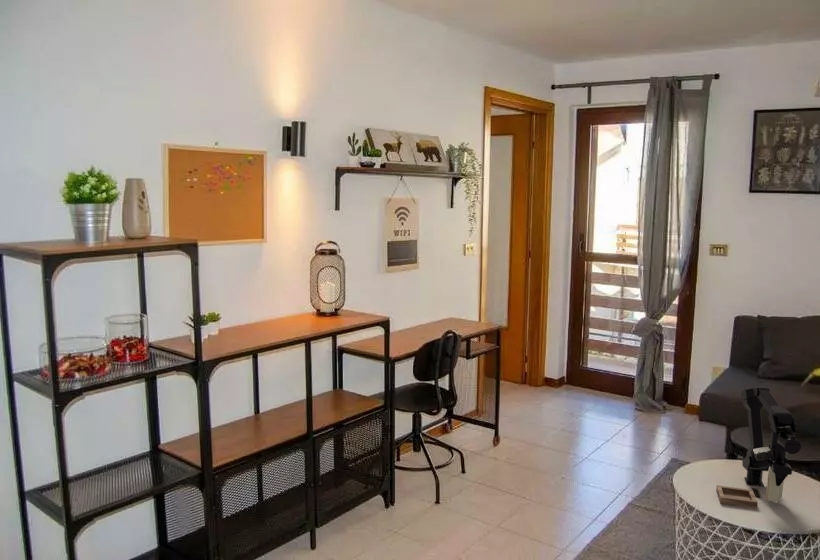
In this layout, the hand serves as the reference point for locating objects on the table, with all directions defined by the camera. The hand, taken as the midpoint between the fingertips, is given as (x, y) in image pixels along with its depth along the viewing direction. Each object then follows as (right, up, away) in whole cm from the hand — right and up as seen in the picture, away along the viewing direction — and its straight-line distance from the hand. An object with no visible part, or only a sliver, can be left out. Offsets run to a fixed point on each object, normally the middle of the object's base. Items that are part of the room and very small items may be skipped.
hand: (775, 481), depth 254 cm
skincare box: (0, -7, +1) cm, 7 cm away
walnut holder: (-13, -8, +4) cm, 16 cm away
